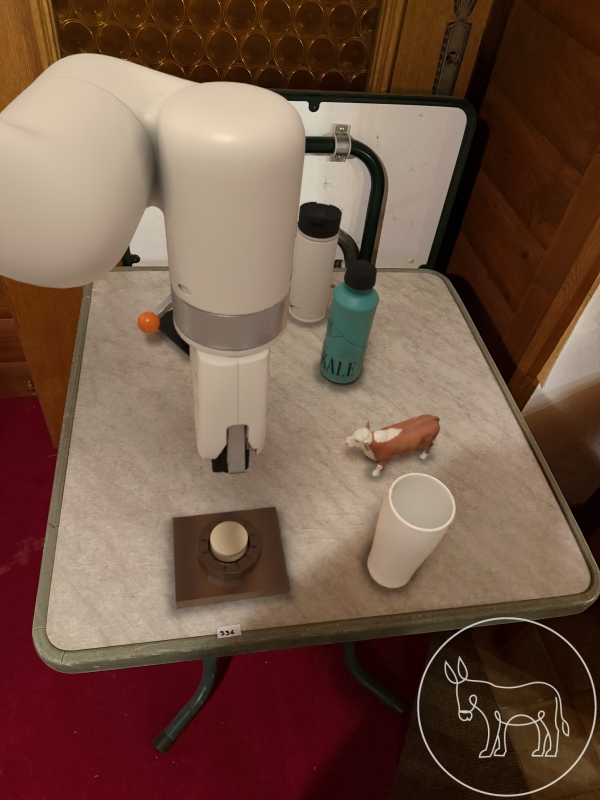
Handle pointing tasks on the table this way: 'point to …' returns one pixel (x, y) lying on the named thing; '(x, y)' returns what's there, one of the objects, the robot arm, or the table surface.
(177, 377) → the table surface
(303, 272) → the travel mug
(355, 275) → the beverage bottle
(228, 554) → the stop button
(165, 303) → the lever
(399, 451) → the bull figurine
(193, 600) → the control block
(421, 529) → the drinking glass
